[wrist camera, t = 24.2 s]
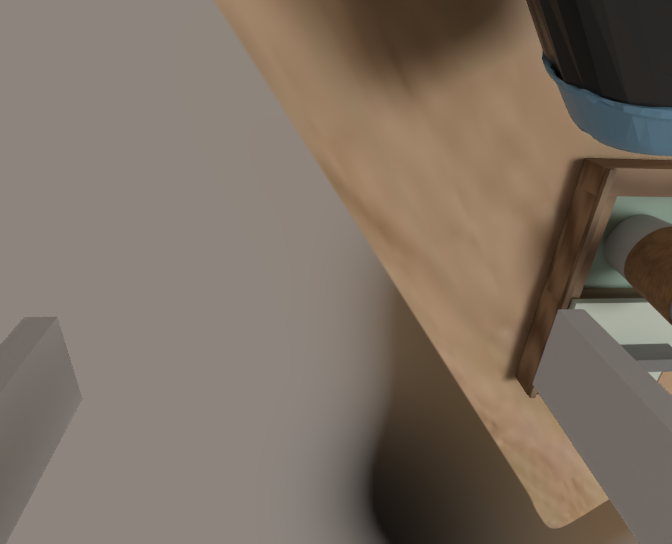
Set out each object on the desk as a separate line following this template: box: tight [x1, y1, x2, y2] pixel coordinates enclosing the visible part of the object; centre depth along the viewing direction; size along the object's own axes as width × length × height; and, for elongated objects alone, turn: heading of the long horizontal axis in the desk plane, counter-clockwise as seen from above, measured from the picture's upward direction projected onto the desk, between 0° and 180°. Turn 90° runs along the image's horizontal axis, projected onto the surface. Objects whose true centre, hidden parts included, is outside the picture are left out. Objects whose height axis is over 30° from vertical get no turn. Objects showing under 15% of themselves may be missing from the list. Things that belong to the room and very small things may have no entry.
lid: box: [569, 298, 672, 381], centre depth 47 cm, size 12×13×3 cm
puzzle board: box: [516, 158, 672, 398], centre depth 47 cm, size 26×15×4 cm, turn 177°
